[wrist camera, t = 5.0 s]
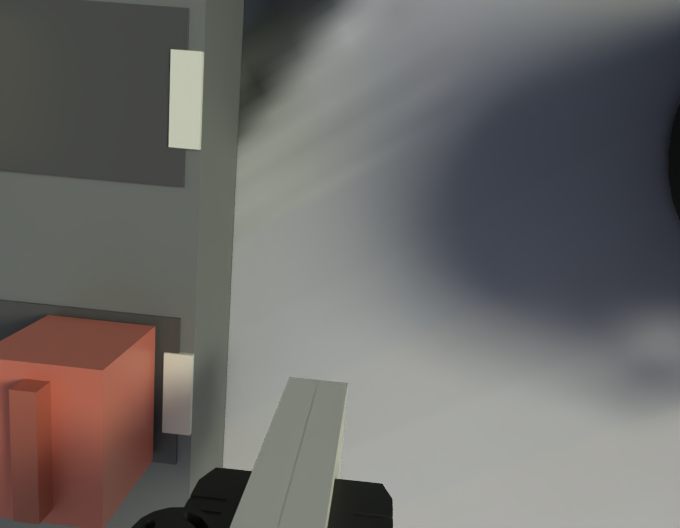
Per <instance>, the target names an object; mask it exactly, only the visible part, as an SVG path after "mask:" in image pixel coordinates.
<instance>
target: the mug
mask: <svg viewBox="0 0 680 528" xmlns="http://www.w3.org/2000/svg"><path fill="white" fill-rule="evenodd" d="M669 181H670V187H671V193H672V198H673V202H674V205H675V208H676V211H677V214H678V216H679V219H680V105H679V108H678V111H677V114H676V118H675V121H674V124H673V128H672V133H671V139H670V146H669Z"/></svg>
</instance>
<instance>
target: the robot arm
mask: <svg viewBox="0 0 680 528" xmlns="http://www.w3.org/2000/svg"><path fill="white" fill-rule="evenodd" d="M347 386H348V383H343V382H333V381H323V380H313V379H303V378H293V377H289V380H288V382H287V385H286V387H285V390H284V392H283V395H282V397H281V400H280V402H279V405H278V407H277V410H276V412H275V415H274V417H273V420H272V422H271V425H270V428H269V430H268V433H267V435H266V438H265V440H264V443H263V445H262V448H261V450H260V453H259V455H258V458H257V460H256V463H255V465H254V468H253V470H252V471H244V470H235V469H226V468H217V467H215V468H214V469H213V470H211V471H210V472H209V473H207V474H206V475H205V476H203V477H202V478H200V479H199V480H198V482H197V484H196V486H195V488H194V489H193V491H192V493H191V495H190V498H189V499H188V501H187V502H186V504H185V506H184V507H169V508H165V509H161V510H157V511H154V512H152V513H150V514H148V515H146V516H144V517H142V518H140V519H139V520H138V521H137V522H136V523H135V524H134V525H133V526H132V527H131V528H393V519H392V517H393V507H392V498H391V496H390V495H389V493H388V492H387V490H386V489H385V487H384V486H383V484H380V483H370V482H361V481H352V480H343V479H340V471H341V459H342V446H343V434H344V422H345V410H346V398H347Z"/></svg>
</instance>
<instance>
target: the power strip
mask: <svg viewBox="0 0 680 528" xmlns="http://www.w3.org/2000/svg"><path fill="white" fill-rule="evenodd" d="M243 13H244V0H0V341H1V340H3V339H5V338H7V337H9V336H11V335H12V334H14V333H16V332H18V331H20V330H22V329H23V328H25V327H27V326H29V325H31V324H33V323H34V322H36V321H38V320H40V319H42V318H44V317H46V316H47V315H54V316H63V317H73V318H83V319H92V320H102V321H111V322H121V323H131V324H140V325H150V326H155V376H154V428H153V460H152V462H151V463H150V464H149V466H148V467H147V469H146V470H145V471H144V473H143V474H142V476H141V477H140V478H139V480H138V481H137V483H136V484H135V486H134V487H133V488H132V490H131V491H130V493H129V494H128V495H127V497H126V498H125V500H124V501H123V502H122V504H121V505H120V507H119V508H118V509H117V511H116V512H115V514H114V515H113V516H112V518H111V519H110V521H109V522H108V523H107V525H106V526H105V528H131V527H132V526H133V525H134V524H135V523H136V522H137V521H138V520H139V519H140V518H142V517H144V516H146V515H148V514H150V513H152V512H154V511H157V510H161V509H165V508H169V507H184V506H185V504H186V502H187V501H188V499H189V498H190V495H191V493H192V491H193V489H194V488H195V486H196V484H197V482H198V480H199V479H200V478H202V477H203V476H205V475H206V474H207V473H209V472H210V471H211V470H213V469H214V468H215V467H217V468H223V448H224V426H225V404H226V382H227V361H228V339H229V317H230V295H231V274H232V252H233V230H234V208H235V187H236V165H237V143H238V121H239V100H240V78H241V56H242V34H243ZM0 528H83V527H75V526H67V525H59V524H50V523H42V522H41V523H40V524H30V523H22V522H14V521H13V519H10V518H2V517H0Z"/></svg>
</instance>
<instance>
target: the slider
mask: <svg viewBox="0 0 680 528" xmlns="http://www.w3.org/2000/svg"><path fill="white" fill-rule="evenodd" d="M154 376H155V326H150V325H140V324H131V323H121V322H111V321H102V320H92V319H83V318H73V317H63V316H54V315H47V316H46V317H44V318H42V319H40V320H38V321H36V322H34V323H33V324H31V325H29V326H27V327H25V328H23V329H22V330H20V331H18V332H16V333H14V334H12V335H11V336H9V337H7V338H5V339H3V340H1V341H0V517H2V518H10V519H13V521H14V522H22V523H30V524H40V523H41V522H42V523H50V524H59V525H67V526H75V527H83V528H105V526H106V525H107V523H108V522H109V521H110V519H111V518H112V516H113V515H114V514H115V512H116V511H117V509H118V508H119V507H120V505H121V504H122V502H123V501H124V500H125V498H126V497H127V495H128V494H129V493H130V491H131V490H132V488H133V487H134V486H135V484H136V483H137V481H138V480H139V478H140V477H141V476H142V474H143V473H144V471H145V470H146V469H147V467H148V466H149V464H150V463H151V462H152V460H153V428H154Z"/></svg>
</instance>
